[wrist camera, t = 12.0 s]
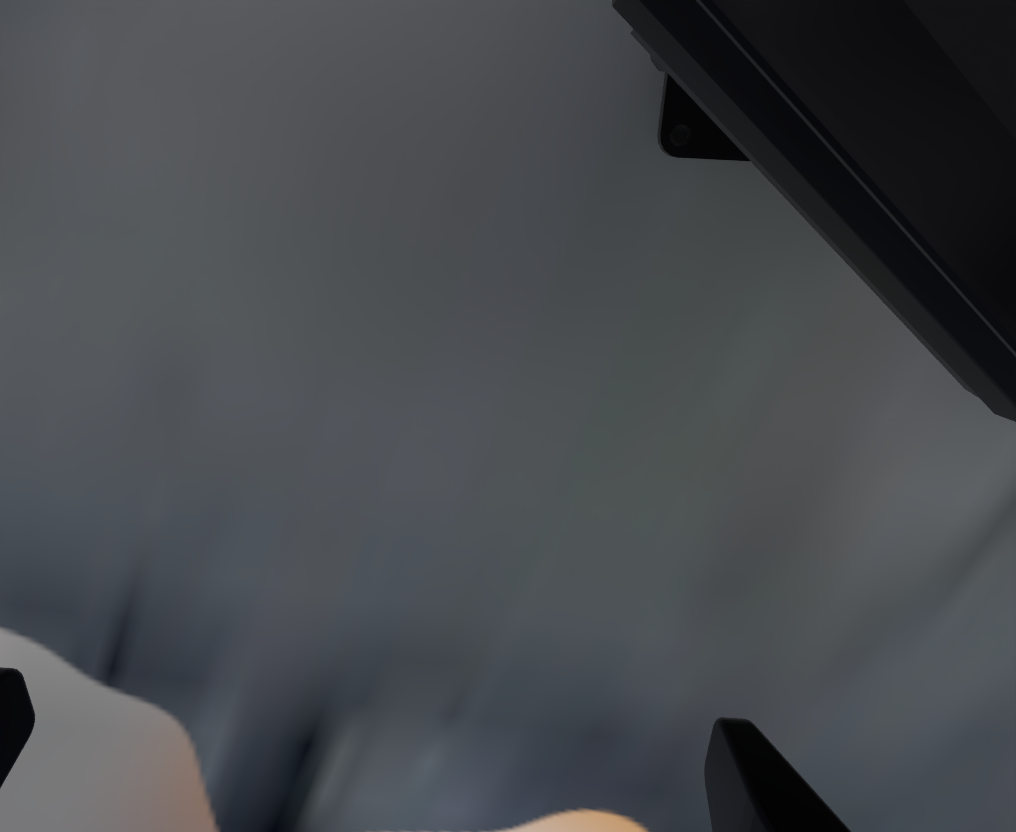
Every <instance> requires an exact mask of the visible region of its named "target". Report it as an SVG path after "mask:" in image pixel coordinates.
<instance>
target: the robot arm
mask: <svg viewBox="0 0 1016 832" xmlns="http://www.w3.org/2000/svg"><path fill="white" fill-rule="evenodd" d="M612 6H613V7H614V9H615V10H616V11H617V12H618V13H619V14H620V15H621V16H622V17H623V18H624V19H625V20H626V21H627V22H628V23H629V25H630V26H631V27H632V28H633V30H632V32H631V34H632V35H633V37H634V38H635V39H636V40H637V41H638V42H639V43H640V44H641V45H642V46H643V47H644V48H645V49H646V50H647V51H648V52H649V54H650V55H651V61H652V62H653V64H654V65H655V66H656V68H657V69H658V71H665V79H664V87H663V95H662V103H661V111H660V119H659V127H658V144H659V146H660V148H661V150H662V151H663V152H664V153H666V154H667V155H669V156H673V157H678V158H698V159H718V160H738V161H751V162H752V163H753V164H754V165H755V166H756V167H757V168H758V169H759V170H760V172H761V173H762V174H763V175H764V176H765V177H766V178H767V179H768V180H769V181H770V182H771V183H772V184H773V185H774V186H775V187H776V189H777V190H778V191H779V192H780V193H781V194H782V195H783V196H784V197H785V198H786V199H787V200H788V201H789V202H790V203H791V204H792V206H793V207H794V208H795V209H796V210H797V211H798V212H799V213H800V214H801V215H802V216H803V217H804V218H805V219H806V220H807V221H808V223H809V224H810V225H811V226H812V227H813V228H814V229H815V230H816V231H817V232H818V233H819V234H820V235H821V236H822V237H823V238H824V240H825V241H826V242H827V243H828V244H829V245H830V246H831V247H832V248H833V249H834V250H835V251H836V252H837V253H838V254H839V256H840V257H841V258H842V259H843V260H844V261H845V262H846V263H847V264H848V265H849V266H850V267H851V268H852V269H853V270H854V271H855V273H856V274H857V275H858V276H859V277H860V278H861V279H862V280H863V281H864V282H865V283H866V284H867V285H868V286H869V287H870V288H871V290H872V291H873V292H874V293H875V294H876V295H877V296H878V297H879V298H880V299H881V300H882V301H883V302H884V303H885V304H886V305H887V307H888V308H889V309H890V310H891V311H892V312H893V313H894V314H895V315H896V316H897V317H898V318H899V319H900V320H901V321H902V322H903V324H904V325H905V326H906V327H907V328H908V329H909V330H910V331H911V332H912V333H913V334H914V335H915V336H916V337H917V338H918V339H919V341H920V342H921V343H922V344H923V345H924V346H925V347H926V348H927V349H928V350H929V351H930V352H931V353H932V354H933V355H934V356H935V358H936V359H937V360H938V361H939V362H940V363H941V364H942V365H943V366H944V367H945V368H946V369H947V370H948V371H949V372H950V374H951V375H952V376H953V377H954V378H955V379H956V380H957V381H958V382H959V383H960V384H961V385H962V386H963V387H964V388H965V389H966V390H967V391H969V392H971V393H972V394H974V395H975V396H977V397H979V398H980V399H981V400H982V401H983V402H984V403H985V404H986V405H987V406H988V408H989V409H990V410H991V411H992V412H993V413H994V414H996V415H999V416H1002V417H1004V418H1007V419H1010V420H1012V421H1015V422H1016V0H612ZM676 125H683V126H685V128H686V129H687V130H688V138H687V140H686V142H685V143H684V144H683V145H682V146H675V145H674V144H673V143H672V142H671V138H670V134H671V131H672V129H673V128H674V127H675V126H676ZM34 722H35V713H34V710H33V706H32V703H31V700H30V697H29V693H28V690H27V687H26V684H25V681H24V677H23V675H22V674H21V673H20V672H19V671H18V670H17V669H13V668H0V788H1V786H2V784H3V783H4V781H5V779H6V777H7V776H8V774H9V772H10V770H11V769H12V767H13V765H14V763H15V762H16V760H17V758H18V756H19V755H20V753H21V751H22V749H23V748H24V746H25V744H26V742H27V741H28V739H29V737H30V735H31V732H32V730H33V727H34ZM705 785H706V792H707V799H708V805H709V812H710V818H711V825H712V832H851V831H850V830H849V829H848V828H847V826H846V825H845V824H844V823H843V822H842V821H841V820H840V819H839V818H838V816H837V815H836V814H835V813H834V812H833V811H832V810H831V809H830V808H829V806H828V805H827V804H826V803H825V802H824V801H823V800H822V799H821V798H820V797H819V795H818V794H817V793H816V792H815V791H814V790H813V789H812V788H811V787H810V785H809V784H808V783H807V782H806V781H805V780H804V779H803V778H802V777H801V776H800V774H799V773H798V772H797V771H796V770H795V769H794V768H793V767H792V766H791V764H790V763H789V762H788V761H787V760H786V759H785V758H784V757H783V756H782V754H781V753H780V752H779V751H778V750H777V749H776V748H775V747H774V746H773V745H772V743H771V742H770V741H769V740H768V739H767V738H766V737H765V736H764V735H763V733H762V732H761V731H760V730H759V729H758V728H757V727H756V726H755V725H754V724H753V723H752V722H751V721H749V720H747V719H738V718H724V717H721V718H718V719H717V720H716V721H715V723H714V726H713V730H712V734H711V738H710V743H709V747H708V752H707V756H706V761H705Z"/></svg>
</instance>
